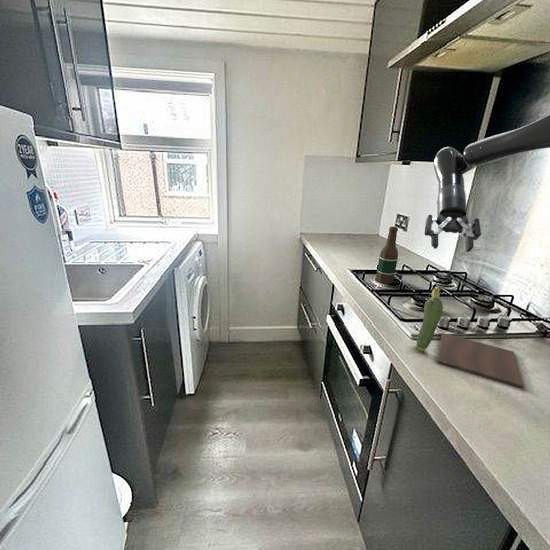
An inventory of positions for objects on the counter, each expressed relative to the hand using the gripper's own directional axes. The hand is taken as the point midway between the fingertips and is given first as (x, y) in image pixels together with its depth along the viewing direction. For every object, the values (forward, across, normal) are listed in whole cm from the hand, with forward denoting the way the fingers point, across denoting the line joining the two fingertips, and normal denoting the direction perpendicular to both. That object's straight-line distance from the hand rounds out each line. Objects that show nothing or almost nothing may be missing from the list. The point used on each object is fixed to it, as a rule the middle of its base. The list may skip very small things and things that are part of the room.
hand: (452, 248), depth 86 cm
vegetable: (+28, -5, +9) cm, 30 cm away
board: (+28, +9, +9) cm, 31 cm away
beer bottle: (-8, -12, +46) cm, 48 cm away
